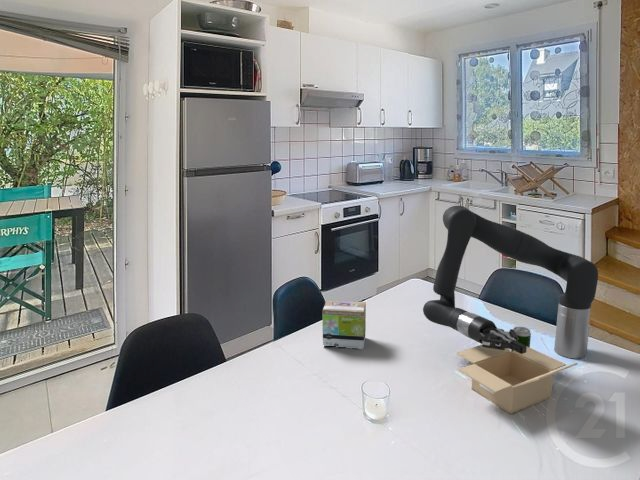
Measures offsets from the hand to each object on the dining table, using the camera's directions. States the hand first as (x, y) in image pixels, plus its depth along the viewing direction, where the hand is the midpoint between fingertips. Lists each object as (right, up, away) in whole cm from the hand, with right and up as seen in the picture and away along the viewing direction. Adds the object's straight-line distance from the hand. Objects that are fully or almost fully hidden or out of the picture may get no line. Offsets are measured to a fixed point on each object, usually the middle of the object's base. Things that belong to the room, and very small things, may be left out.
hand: (524, 350), depth 119 cm
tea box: (-47, -8, +41) cm, 63 cm away
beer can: (+9, -10, +22) cm, 26 cm away
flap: (+2, -7, -1) cm, 8 cm away
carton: (-3, -13, +9) cm, 17 cm away
